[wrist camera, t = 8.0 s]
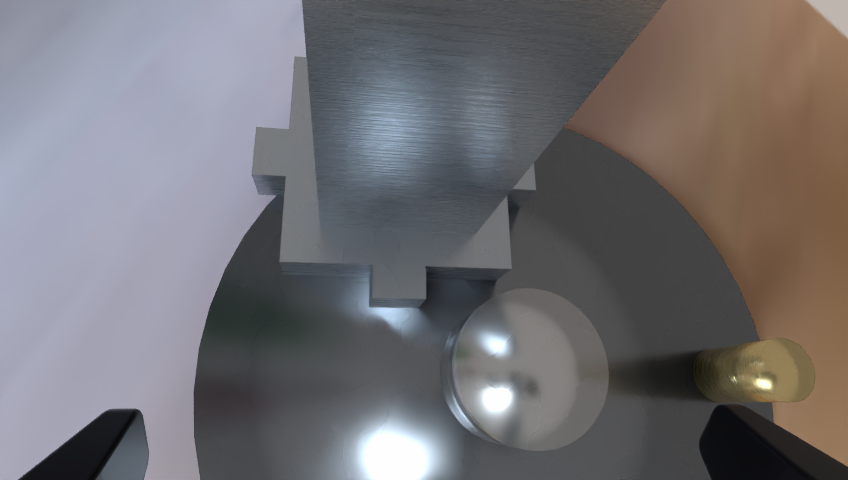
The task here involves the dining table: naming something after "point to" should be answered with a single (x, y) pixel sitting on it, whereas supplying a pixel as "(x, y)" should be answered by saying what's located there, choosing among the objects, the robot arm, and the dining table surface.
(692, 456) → the disc
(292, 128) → the square pipe section
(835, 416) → the dining table surface
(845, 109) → the dining table surface
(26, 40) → the dining table surface
